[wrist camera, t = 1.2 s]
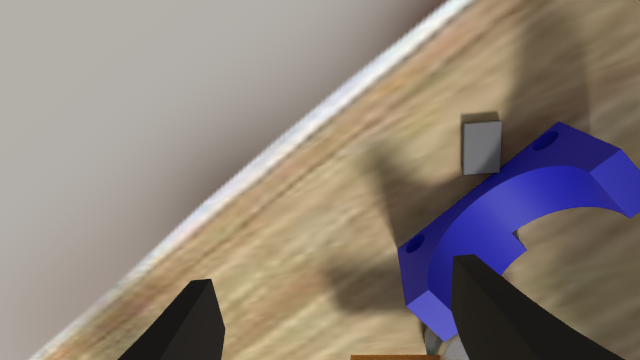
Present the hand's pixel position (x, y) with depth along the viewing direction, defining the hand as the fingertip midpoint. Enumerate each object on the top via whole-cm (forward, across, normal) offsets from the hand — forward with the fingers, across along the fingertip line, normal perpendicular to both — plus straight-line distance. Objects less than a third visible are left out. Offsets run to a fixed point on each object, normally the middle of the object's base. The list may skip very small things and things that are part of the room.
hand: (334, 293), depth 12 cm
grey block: (+12, -9, +1) cm, 15 cm away
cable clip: (+12, -10, +6) cm, 17 cm away
